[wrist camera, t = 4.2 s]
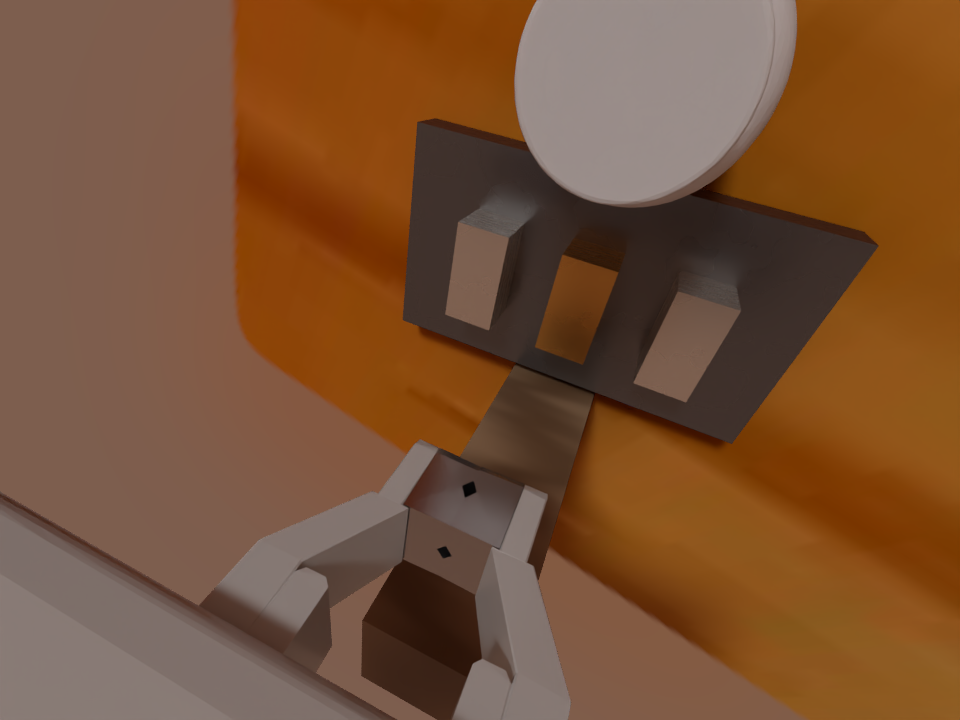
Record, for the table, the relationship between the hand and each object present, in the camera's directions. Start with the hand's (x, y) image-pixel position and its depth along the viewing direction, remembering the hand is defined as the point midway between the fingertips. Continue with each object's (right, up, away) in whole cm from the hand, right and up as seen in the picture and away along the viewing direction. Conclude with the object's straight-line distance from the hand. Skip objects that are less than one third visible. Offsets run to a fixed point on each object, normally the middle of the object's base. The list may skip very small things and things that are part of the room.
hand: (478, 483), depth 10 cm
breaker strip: (+5, +6, +9) cm, 12 cm away
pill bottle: (+6, +12, +5) cm, 15 cm away
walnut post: (+4, +1, +14) cm, 14 cm away
